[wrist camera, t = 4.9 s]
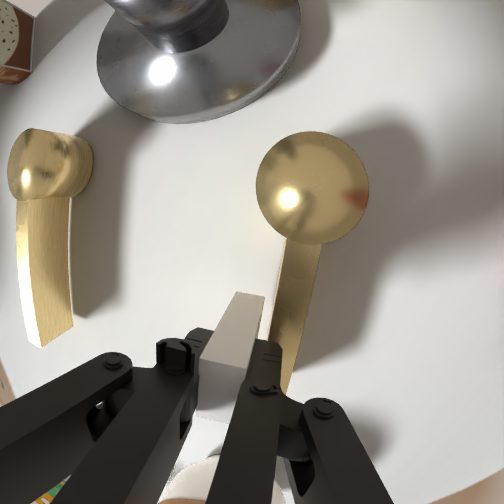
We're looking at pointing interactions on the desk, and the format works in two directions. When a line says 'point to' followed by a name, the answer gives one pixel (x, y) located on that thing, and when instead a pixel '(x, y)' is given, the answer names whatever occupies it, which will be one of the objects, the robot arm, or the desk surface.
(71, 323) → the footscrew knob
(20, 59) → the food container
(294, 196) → the gold lever handle
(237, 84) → the base
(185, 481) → the lidded jar
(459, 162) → the desk surface
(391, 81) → the desk surface
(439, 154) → the desk surface
